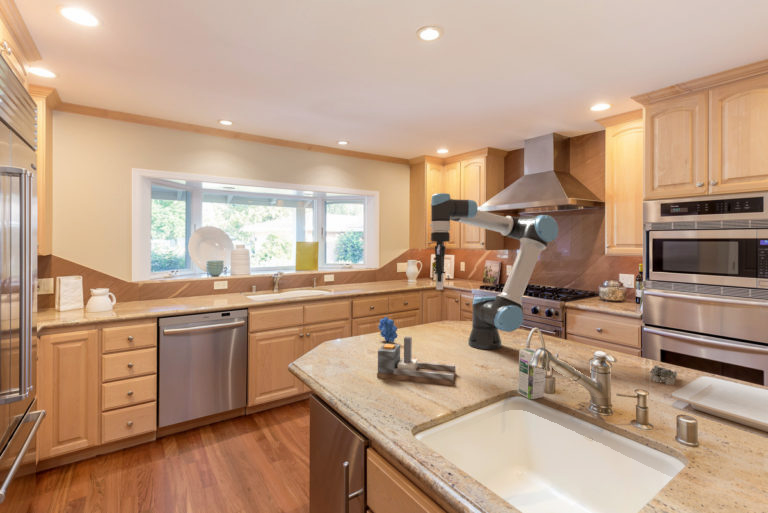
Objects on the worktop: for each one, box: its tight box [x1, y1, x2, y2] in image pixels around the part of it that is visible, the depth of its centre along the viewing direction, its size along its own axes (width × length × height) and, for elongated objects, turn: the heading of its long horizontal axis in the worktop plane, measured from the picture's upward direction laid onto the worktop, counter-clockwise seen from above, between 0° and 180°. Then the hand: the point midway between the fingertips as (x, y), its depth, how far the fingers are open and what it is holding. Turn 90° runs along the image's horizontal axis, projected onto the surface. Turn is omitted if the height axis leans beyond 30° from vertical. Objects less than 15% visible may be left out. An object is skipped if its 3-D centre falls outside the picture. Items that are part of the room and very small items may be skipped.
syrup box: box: [517, 347, 545, 400], centre depth 121 cm, size 6×6×14 cm
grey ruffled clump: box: [649, 365, 678, 385], centre depth 135 cm, size 10×7×4 cm
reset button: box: [383, 343, 395, 349], centre depth 141 cm, size 4×4×3 cm
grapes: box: [378, 316, 398, 343], centre depth 183 cm, size 12×7×12 cm, turn 49°
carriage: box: [398, 336, 418, 370], centre depth 139 cm, size 6×7×12 cm
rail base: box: [376, 342, 457, 386], centre depth 138 cm, size 27×12×10 cm, turn 74°
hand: (439, 289), depth 155 cm, fingers closed
